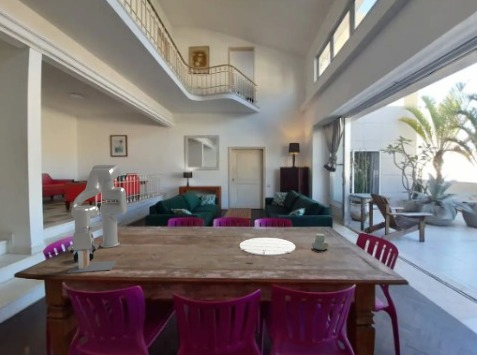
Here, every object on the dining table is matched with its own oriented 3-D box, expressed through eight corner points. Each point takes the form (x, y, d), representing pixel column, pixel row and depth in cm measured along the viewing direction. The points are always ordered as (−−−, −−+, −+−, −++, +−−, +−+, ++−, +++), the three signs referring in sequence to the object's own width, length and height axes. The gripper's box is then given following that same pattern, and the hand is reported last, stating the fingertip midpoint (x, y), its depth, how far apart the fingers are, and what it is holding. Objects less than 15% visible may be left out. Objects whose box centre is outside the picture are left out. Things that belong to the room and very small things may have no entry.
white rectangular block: (83, 264, 158) (83, 247, 157) (89, 264, 158) (88, 247, 158) (78, 269, 151) (78, 251, 150) (84, 268, 151) (83, 251, 151)
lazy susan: (295, 258, 168) (295, 252, 168) (234, 254, 176) (233, 249, 176) (295, 240, 207) (295, 236, 207) (244, 238, 215) (244, 233, 215)
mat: (77, 264, 160) (77, 263, 160) (117, 261, 164) (117, 260, 164) (67, 273, 147) (66, 272, 147) (110, 270, 150) (110, 269, 150)
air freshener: (319, 252, 179) (319, 237, 179) (309, 248, 186) (309, 234, 186) (330, 249, 185) (330, 234, 185) (320, 246, 192) (320, 232, 192)
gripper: (101, 227, 158) (102, 257, 159) (68, 228, 156) (70, 259, 156) (96, 230, 151) (97, 261, 152) (62, 232, 148) (64, 264, 149)
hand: (83, 260), depth 154 cm, fingers open, 7 cm apart
